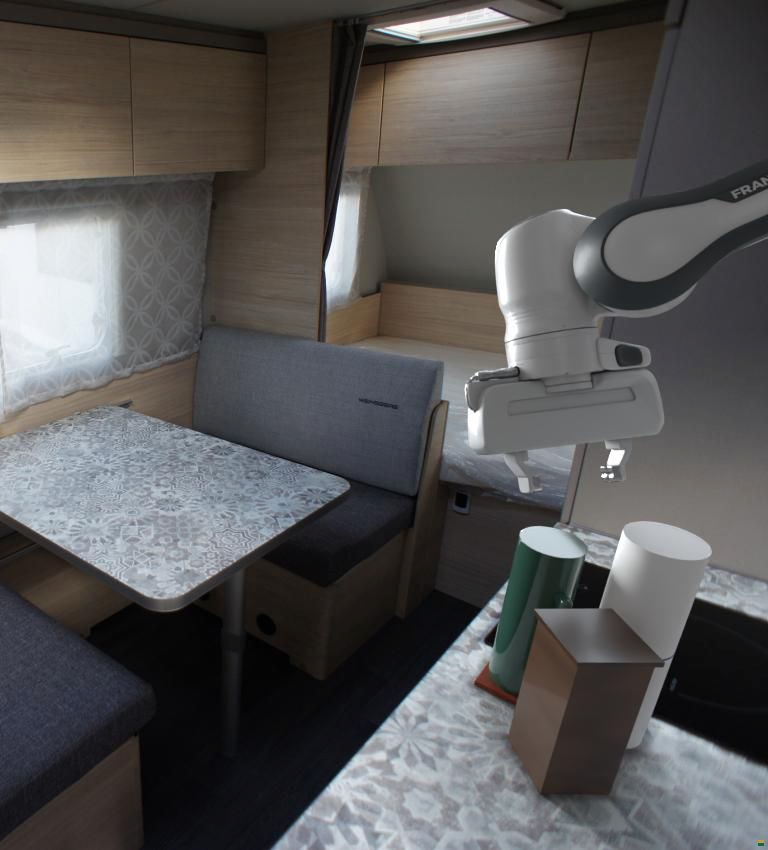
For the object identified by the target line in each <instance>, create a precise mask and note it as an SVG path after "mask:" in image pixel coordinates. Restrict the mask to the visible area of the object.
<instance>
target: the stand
mask: <svg viewBox="0 0 768 850" xmlns="http://www.w3.org/2000/svg"><path fill="white" fill-rule="evenodd" d="M534 615H535V616H536V617H537V618H538V623H537V627H536V631H535V635H534V638H533V642H532V646H531V650H530V654H529V658H528V662H527V665H526V669H525V673H524V677H523V681H522V685H521V688H520V692H519V696H518V700H517V704H516V705H515V708H514V711H513V716H512V718H511V719H512V720H511V722H510V727H509V731H508V735H507V742H508V743H509V744H510V746H511V748H512V749H513V751H514V752H515V754H516V756H517V758H518V760H519V762H520V763H521V765H522V767H523V768H524V770H525V771H526V773H527V775H528V776H529V778H530V780H531V781H532V782H533V785H534V787H535V788H536V790H537V791H538V793H539V795H551V796H552V795H560V796H561V795H562V796H563V795H564V796H565V795H569V796H571V795H572V796H574V795H575V796H577V795H578V796H579V795H580V796H610V794H611V791H612V789H613V786H614V783H615V782H616V781H615V780H616V779H617V775H618V773H619V769H620V767H621V763H622V761H623V758H624V755H625V753H626V750H627V749H626V747H627V744H628V742H629V739H630V736H631V733H632V730H633V728H634V725H635V722H636V719H637V716H638V714H639V711H640V708H641V705H642V702H643V700H644V697H645V694H646V691H647V688H648V686H649V683H650V680H651V677H652V674H653V672H654V669H655V668H663V667H664V665H665V662H664V661H663V660H662V659H661V658H660V657H659V656H658V655H657V654H656V653H655V652H654V651H653V650H652V649H651V648H650V647H649V646H648V645H647V644H646V643H645V642H644V641H643V640H642V639H641V638H640V637H639V636H638V635H637V634H636V633H635V632H634V630H633V629H632V628H631V627H630V626H629V625H628V624H627V623H626V622H625V621H624V620H623V619H622V618H621V617H620V616H619V615H618V614H617V613H616V612H615V611H614V610H613V609H611V608H605V609H599V608H572V609H534Z"/></svg>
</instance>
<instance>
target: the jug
mask: <svg viewBox="0 0 768 850" xmlns="http://www.w3.org/2000/svg"><path fill="white" fill-rule="evenodd" d="M517 537H518V538H517V542H516V546H515V551H514V555H513V560H512V563H511V568H510V573H509V577H508V581H507V585H506V589H505V594H504V597H503V598H504V599H503V603H502V607H501V612H500V615H499V620H498V623H497V628H496V633H495V638H494V641H493V645H492V650H491V655H490V659H489V661H490V663H489V667H488V674H489V676H490V678H491V680H492V681H493V682H494V683H495V684H496V685H497V686H498V687H499V688H501V689H502V690H504V691H505V692H507V693H509V694H511V695H514V696H517V697H518V696H519V692H520V688H521V685H522V681H523V677H524V673H525V669H526V665H527V662H528V658H529V654H530V650H531V646H532V642H533V638H534V635H535V631H536V627H537V623H538V618H537V617H536V616H535V615H534V609H573V607H574V600H575V597H576V593H577V590H578V586H579V583H580V579H581V576H582V573H583V569H584V565H585V562H586V558H587V554H588V546H587V545H586V543H585V542H584V541H583V540H582V539H580V538H579V537H578V536H576V535H574V534H572V533H570V532H568V531H565V530H563V529H559V528H555V527H551V526H550V527H549V526H543V525H535V526H533V525H531V526H527V527H524V528H522V530H520V531H519V534H518V536H517Z"/></svg>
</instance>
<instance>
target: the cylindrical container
mask: <svg viewBox="0 0 768 850" xmlns="http://www.w3.org/2000/svg"><path fill="white" fill-rule="evenodd" d="M712 553H713V550H712V548H711V546H710V544H709V543H708V542H707V541H706V540H704V539H703V538H701V537H700V536H699V535H697V534H695V533H692V532H690V531H688V530H686V529H683V528H680V527H678V526H674V525H671V524H666V523H663V522H658V521H657V522H656V521H650V520H649V521H648V520H645V521H644V520H641V521H640V520H638V521H633V522H629V523H626V524H625V525H624V526H623V528H622V531H621V534H620V538H619V541H618V545H617V547H616V551H615V554H614V558H613V560H612V564H611V567H610V571H609V574H608V577H607V580H606V584H605V587H604V591H603V594H602V597H601V600H600V604H599V607H598V609H605V608H611V609H613V610H614V611H615V612H616V613H617V614H618V615H619V616H620V617H621V618H622V619H623V620H624V621H625V622H626V623H627V624H628V625H629V626H630V627H631V628H632V629H633V630H634V632H635V633H636V634H637V635H638V636H639V637H640V638H641V639H642V640H643V641H644V642H645V643H646V644H647V645H648V646H649V647H650V648H651V649H652V650H653V651H654V652H655V653H656V654H657V655H658V656H659V657H660V658H661V659H662V660H663V661H664V662H665V665H664V667H663V668H655V669H654V672H653V674H652V677H651V680H650V683H649V686H648V688H647V691H646V694H645V697H644V700H643V702H642V705H641V708H640V711H639V714H638V716H637V719H636V722H635V725H634V728H633V730H632V733H631V736H630V739H629V742H628V744H627V747H626V750H630V749H634V748H637V747H639V746H640V745H641V744H642V742H643V741H644V740H643V739H644V737H645V734H646V731H647V728H648V727H649V724H650V721H651V719H652V715H653V713H654V710H655V707H656V705H657V702H658V699H659V697H660V694H661V691H662V688H663V686H664V683H665V680H666V678H667V674H668V672H669V669H670V667H671V664H672V661H673V658H674V656H675V654H676V651H677V649H678V645H679V642H680V641H681V640H680V639H681V637H682V635H683V631H684V629H685V626H686V623H687V620H688V618H689V616H690V613H691V610H692V607H693V604H694V602H695V599H696V596H697V594H698V592H699V588H700V586H701V583H702V580H703V577H704V575H705V572H706V569H707V566H708V564H709V562H710V559H711V556H712Z"/></svg>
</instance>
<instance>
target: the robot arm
mask: <svg viewBox="0 0 768 850" xmlns="http://www.w3.org/2000/svg"><path fill="white" fill-rule="evenodd" d="M767 239H768V157H766V158H763V159H762V160H759V161H757V162H755V163H753V164H750V165H748V166H746V167H744V168H741V169H739V170H737V171H734V172H732V173H730V174H728V175H726V176H724V177H721V178H719V179H716V180H715V181H711V182H709V183H706V184H703V185H700V186H696V187H694V188H690V189H685V190H680V191H676V192H673V191H672V192H667V193H659V194H652V195H647V196H646V195H645V196H640V197H636V198H631V199H629V200H626V201H623V202H620V203H618V204H616V205H613V206H612V207H610V208H608V209H607V210H605V211H604V212H602V213H600V214H599V215H598V216H597V217H593V216H587V215H583V214H579V213H576V212H573V211H571V210H570V209H567V208H561V209H559V208H558V209H553V210H549V211H544V212H540V213H538V214H535V215H533V216H530V217H528V218H526V219H524V220H521V221H520V222H518V223H516V224H515V225H513V227H511V228H510V229H508V230H507V231H505V232H504V234H503V235H502V237H500V239H499V240H498V242H497V245H496V249H495V256H494V270H495V271H494V272H495V273H494V274H495V285H496V294H497V302H498V306H499V309H500V311H501V313H502V315H503V317H504V321H505V334H504V348H505V355H506V361H507V367H503V368H498V369H495V370H481V371H478V372H475V374H474V375H473V376H472V377H470V378H469V379H468V380H467V381H466V383H465V385H464V395H465V396H464V397H465V403H466V405H467V437H468V445H469V449H471V450H472V451H473V452H474V453H475V454H476V455H478V456H492V455H500V454H501V455H503V458H504V463H505V464H506V466H507V467H508V468H509V469H510V470H511V472H512V473H513V474H514V475H515V477H517V481H518V487H519V491H520V492H521V493H523V494H532V493H539V492H542V491H543V485H542V484H541V483H542V476H541V475H538V474H537V475H536V474H535V475H534V474H533V473H532V472H531V469H529V467H528V465H527V464H526V463H525V462H528V461H529V453H528V451H533V450H540V449H541V450H542V449H550V448H558V447H566V446H575V445H582V444H591V443H598V442H599V443H600V442H604V444H605V449H606V450H607V451H608V450H611V451H610V453H609V456H608V459H607V463H606V465H601V466H599V470H600V473H601V477H600V478H601V480H602V481H603V482H604V483H618V482H626V480H627V472H626V464H627V462H628V460H629V458H630V456H631V453H632V451H633V448H634V446H633V441H632V438H638V437H646V436H656V435H658V434H660V432H661V431H662V429H663V427H664V426H665V411H664V407H663V405H664V404H663V400H662V396H661V392H660V391H661V390H660V388H659V385H658V382H657V379H656V377H655V375H653V373H652V372H651V371H650V370H648V369H646V368H645V367H648V366H649V365H651V362H652V355H651V350H650V349H649V348H648V347H646V346H644V345H641V344H640V345H639V344H634V343H628V342H624V341H619V340H614V339H611V338H607V337H600V331H599V325H598V322H599V319H600V318H619V317H620V318H621V317H622V318H631V319H632V318H637V319H639V318H640V319H641V318H648V317H654V316H657V315H661V314H663V313H666V312H668V311H670V310H672V309H673V308H675V307H676V306H678V305H680V304H681V303H682V302H684V301H685V300H686V299H687V298H688V297H689V296H690V294H691V293H692V292H693V291H694V289H695V288H696V286H697V285H698V283H699V281H700V280H701V279H702V278H703V277H705V275H707V273H709V272H710V271H711V270H712V269H713V268H714V267H715V266H716V265H719V264H720V263H721V262H722V261H723V260H725V259H727V258H729V256H731V255H733V254H735V253H737V252H738V251H740V250H742V249H745V248H747V247H750V246H752V245H755V244H757V243H760V242H762V241H765V240H767Z"/></svg>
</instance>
